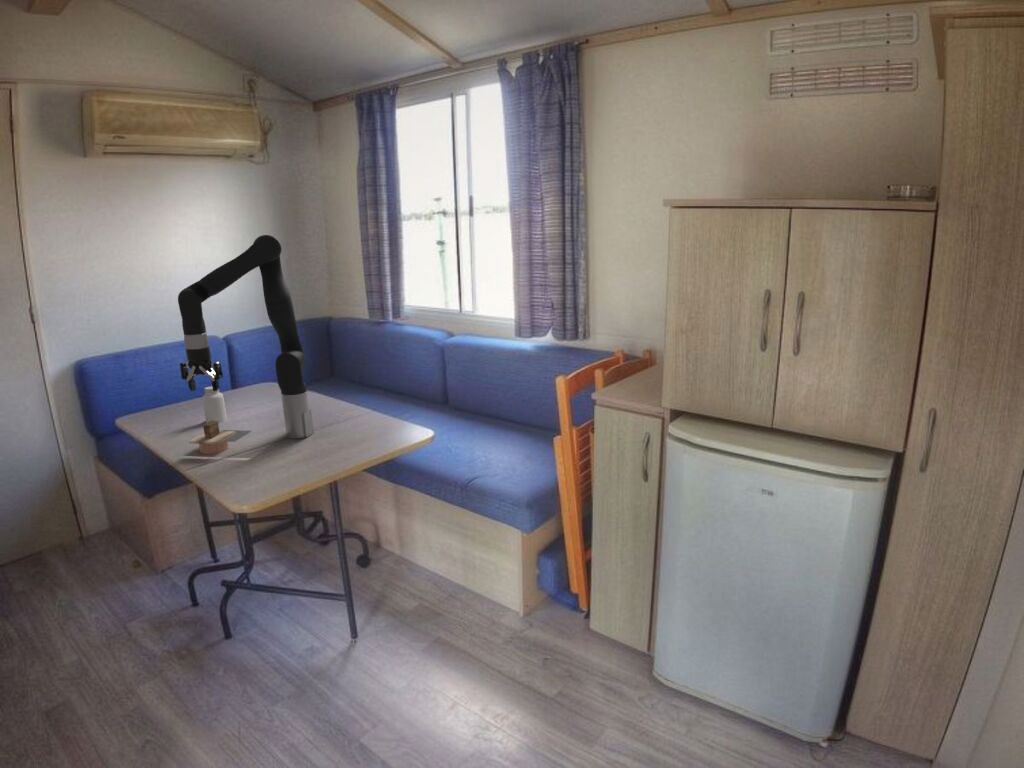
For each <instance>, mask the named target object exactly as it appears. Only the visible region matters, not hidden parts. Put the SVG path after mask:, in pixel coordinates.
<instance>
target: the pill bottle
mask: <svg viewBox="0 0 1024 768" xmlns="http://www.w3.org/2000/svg"><path fill="white" fill-rule="evenodd" d="M201 400H202V406H203V410H204V417H205V422H206V423H208V422H210V421H218V424H221V423H224V422H226V421H227V420H228V415H227V411H226V410H227V409H226V404H225V399H224V394H223V393H222V392H220V388H219V389H218V390H217V391H213V387H212V385H211V386H207V387H204V394H203V396H202V398H201ZM206 423H205V424H206Z"/></svg>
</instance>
